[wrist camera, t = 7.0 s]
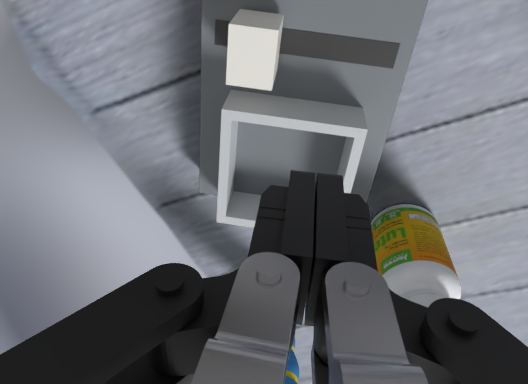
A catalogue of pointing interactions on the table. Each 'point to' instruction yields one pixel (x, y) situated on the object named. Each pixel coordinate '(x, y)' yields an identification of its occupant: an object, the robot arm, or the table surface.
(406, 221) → the supplement bottle
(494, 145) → the table surface
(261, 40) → the breaker handle
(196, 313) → the robot arm
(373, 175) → the breaker panel
